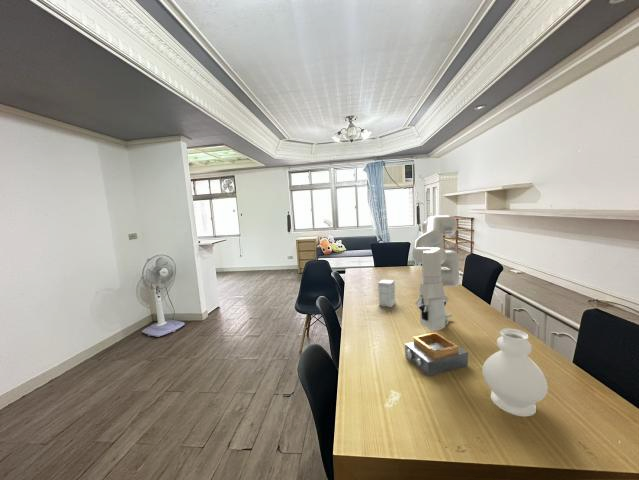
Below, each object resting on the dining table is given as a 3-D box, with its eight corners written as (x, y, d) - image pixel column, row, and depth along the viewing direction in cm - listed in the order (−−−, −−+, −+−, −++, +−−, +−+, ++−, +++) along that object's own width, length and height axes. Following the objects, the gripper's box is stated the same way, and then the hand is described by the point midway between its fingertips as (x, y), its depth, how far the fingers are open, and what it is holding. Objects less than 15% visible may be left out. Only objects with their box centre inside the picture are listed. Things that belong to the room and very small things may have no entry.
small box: (445, 327, 115) (444, 298, 113) (434, 331, 112) (434, 301, 110) (430, 321, 122) (429, 293, 120) (420, 324, 119) (419, 296, 118)
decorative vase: (551, 431, 79) (555, 352, 76) (481, 410, 88) (482, 340, 86) (541, 394, 94) (543, 327, 91) (482, 380, 103) (482, 318, 100)
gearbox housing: (441, 347, 128) (441, 329, 127) (468, 365, 113) (468, 345, 112) (403, 356, 123) (402, 338, 122) (425, 376, 107) (425, 356, 106)
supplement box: (395, 303, 190) (395, 280, 188) (392, 307, 182) (391, 283, 180) (383, 301, 195) (382, 279, 193) (378, 305, 187) (377, 282, 185)
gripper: (442, 274, 120) (443, 311, 122) (408, 279, 116) (409, 318, 118) (454, 278, 113) (455, 318, 115) (419, 283, 109) (420, 325, 111)
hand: (432, 317), depth 116 cm, fingers closed on small box, 7 cm apart
